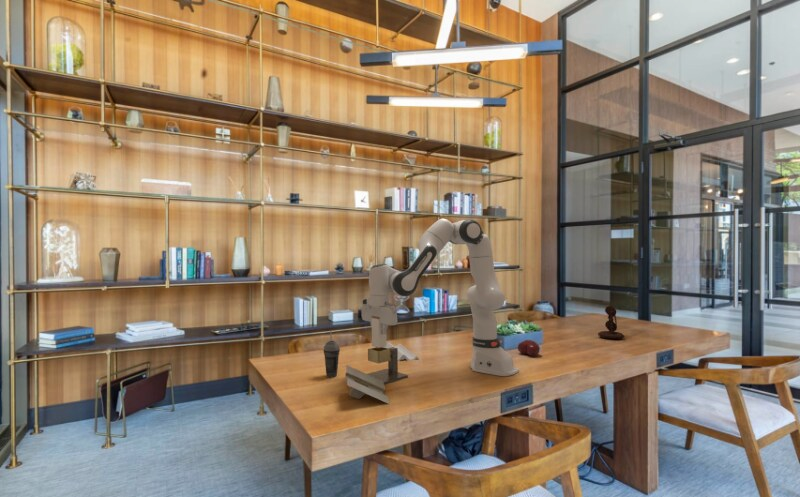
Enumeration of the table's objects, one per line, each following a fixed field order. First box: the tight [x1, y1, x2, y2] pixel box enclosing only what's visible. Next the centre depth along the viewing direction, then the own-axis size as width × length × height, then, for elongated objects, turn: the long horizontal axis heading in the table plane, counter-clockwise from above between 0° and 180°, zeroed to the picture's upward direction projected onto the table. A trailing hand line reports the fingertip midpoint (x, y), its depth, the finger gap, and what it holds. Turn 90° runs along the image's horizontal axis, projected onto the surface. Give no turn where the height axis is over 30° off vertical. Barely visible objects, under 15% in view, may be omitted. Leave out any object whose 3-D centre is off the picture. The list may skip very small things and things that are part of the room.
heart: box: [517, 339, 541, 357], centre depth 213 cm, size 12×8×10 cm
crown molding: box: [385, 341, 420, 362], centre depth 218 cm, size 31×12×4 cm, turn 17°
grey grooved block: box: [344, 364, 390, 405], centre depth 151 cm, size 19×10×17 cm
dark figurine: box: [597, 305, 625, 341], centre depth 254 cm, size 15×15×20 cm
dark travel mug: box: [322, 330, 340, 379], centre depth 177 cm, size 7×7×20 cm
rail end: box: [371, 316, 387, 348], centre depth 173 cm, size 5×5×13 cm
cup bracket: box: [367, 347, 409, 386], centre depth 175 cm, size 14×16×13 cm
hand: (379, 333), depth 173 cm, fingers closed on rail end, 4 cm apart
